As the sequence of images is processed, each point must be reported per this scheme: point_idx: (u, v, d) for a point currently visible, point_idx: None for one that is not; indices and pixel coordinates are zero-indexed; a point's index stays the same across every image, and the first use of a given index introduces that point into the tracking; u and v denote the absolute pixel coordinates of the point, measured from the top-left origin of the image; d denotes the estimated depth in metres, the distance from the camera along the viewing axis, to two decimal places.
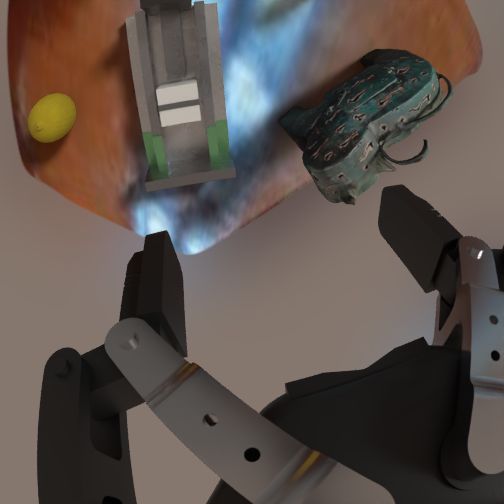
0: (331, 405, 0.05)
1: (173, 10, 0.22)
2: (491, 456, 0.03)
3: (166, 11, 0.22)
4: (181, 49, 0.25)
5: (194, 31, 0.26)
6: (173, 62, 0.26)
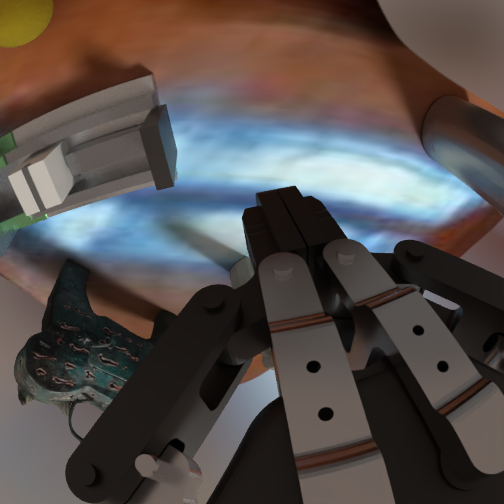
0: None
1: None
2: (491, 456, 0.03)
3: None
4: (103, 163, 0.22)
5: (135, 162, 0.25)
6: (86, 158, 0.21)
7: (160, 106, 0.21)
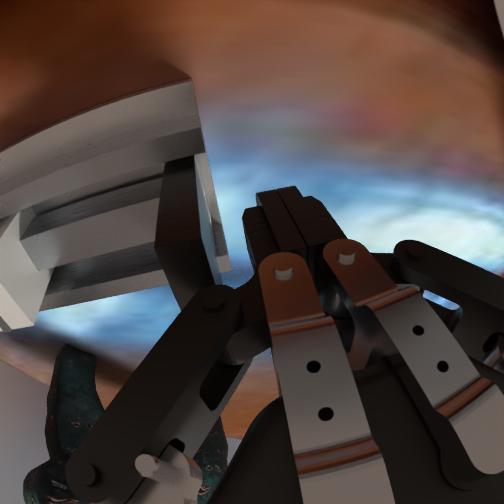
0: None
1: None
2: (491, 456, 0.03)
3: None
4: (86, 255, 0.13)
5: None
6: (55, 245, 0.12)
7: None
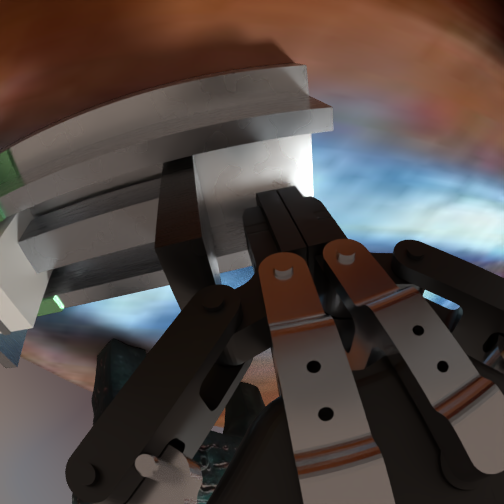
0: None
1: None
2: (491, 456, 0.03)
3: None
4: (84, 256, 0.12)
5: None
6: (53, 247, 0.12)
7: None
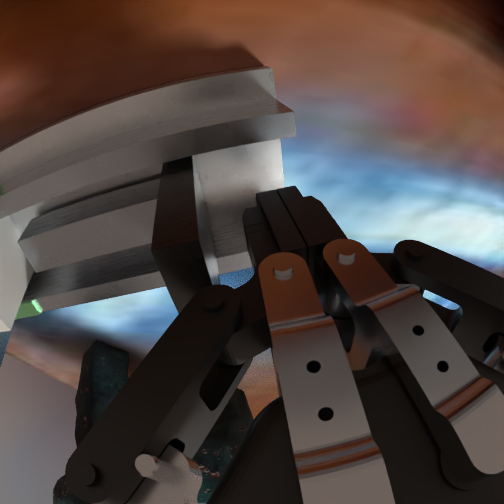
0: None
1: None
2: (491, 456, 0.03)
3: None
4: (84, 256, 0.12)
5: (224, 222, 0.16)
6: (53, 247, 0.12)
7: None
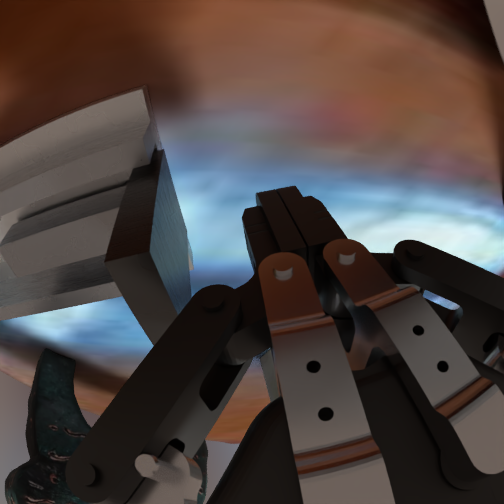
0: None
1: None
2: (491, 456, 0.03)
3: None
4: (60, 262, 0.12)
5: None
6: (31, 253, 0.11)
7: (153, 155, 0.12)
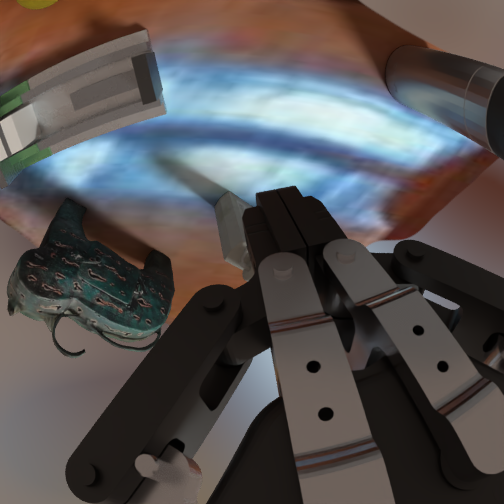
0: None
1: None
2: (491, 456, 0.03)
3: None
4: (101, 98, 0.24)
5: (130, 100, 0.27)
6: (87, 94, 0.24)
7: None
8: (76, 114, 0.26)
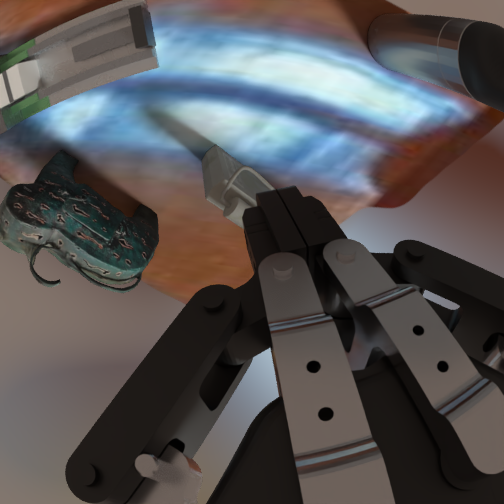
0: None
1: None
2: (491, 456, 0.03)
3: None
4: (99, 51, 0.24)
5: (126, 55, 0.27)
6: (87, 47, 0.23)
7: None
8: (76, 68, 0.26)
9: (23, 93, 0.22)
